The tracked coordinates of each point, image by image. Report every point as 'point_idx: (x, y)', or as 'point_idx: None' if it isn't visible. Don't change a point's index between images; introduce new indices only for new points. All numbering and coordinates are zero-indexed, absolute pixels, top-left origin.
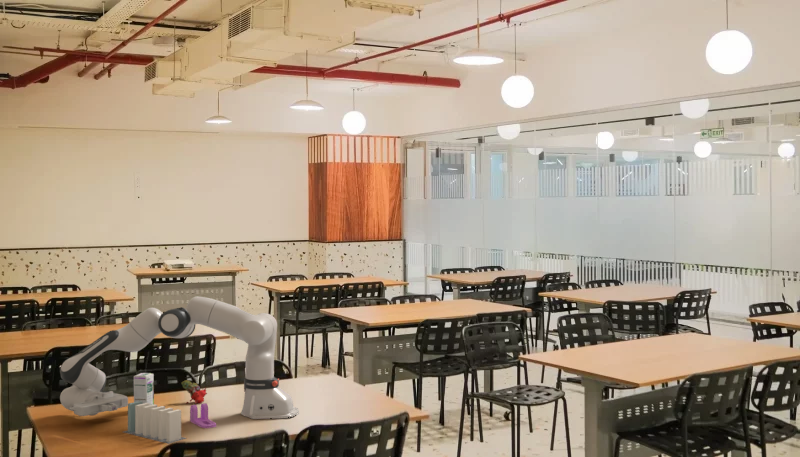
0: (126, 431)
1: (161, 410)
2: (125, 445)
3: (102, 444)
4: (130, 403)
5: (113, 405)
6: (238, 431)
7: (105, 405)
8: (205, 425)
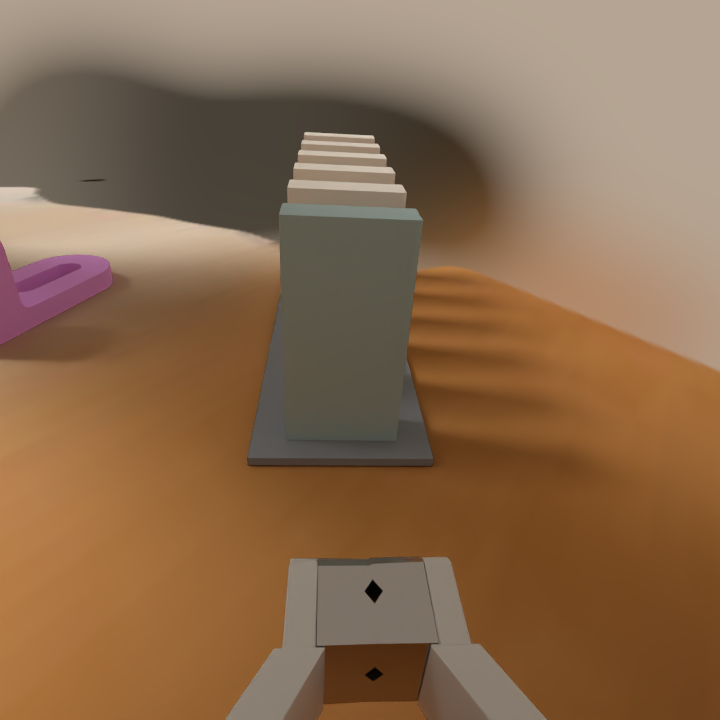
0: (402, 446)
1: (369, 145)
2: (522, 327)
3: (629, 388)
4: (399, 215)
5: (355, 588)
6: (106, 229)
7: (509, 718)
8: (104, 263)
